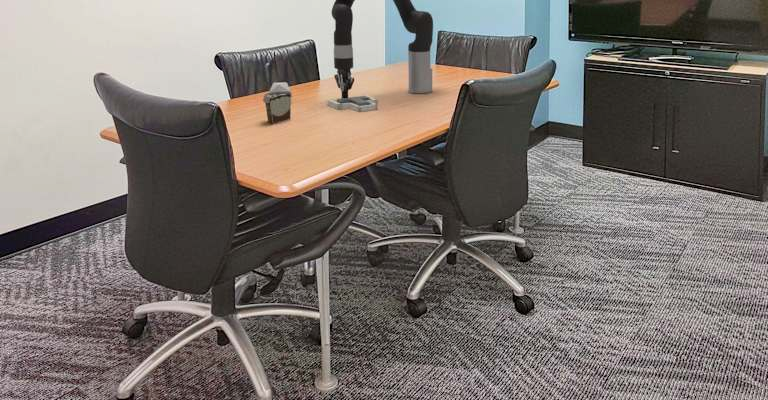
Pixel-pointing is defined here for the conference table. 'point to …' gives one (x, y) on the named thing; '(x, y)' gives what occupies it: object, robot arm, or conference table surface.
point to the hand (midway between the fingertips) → (345, 99)
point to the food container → (278, 106)
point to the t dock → (355, 107)
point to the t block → (355, 100)
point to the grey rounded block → (280, 87)
